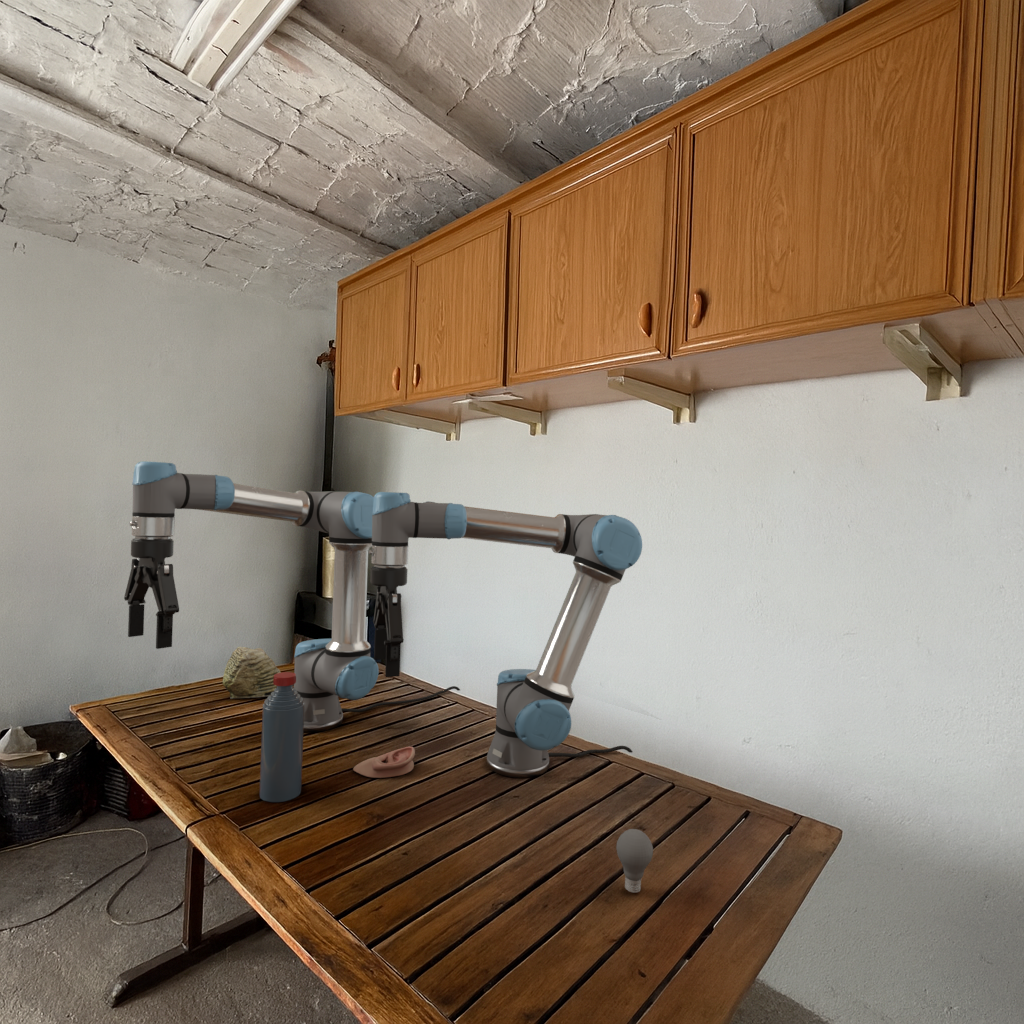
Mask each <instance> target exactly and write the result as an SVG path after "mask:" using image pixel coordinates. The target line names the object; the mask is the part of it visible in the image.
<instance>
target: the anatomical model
mask: <svg viewBox="0 0 1024 1024" xmlns="http://www.w3.org/2000/svg"><path fill="white" fill-rule="evenodd" d="M415 755H416V749H415V747H413V746H406V747H405V746H404V747H401V748H398V749H394V750H391V751H389V752H386V753H383V754H381V755H378V756H375V757H370V758H367V759H364V760H363V761H361V762H359V763H358V764H356V765H355V766H354V767H353V768H352V770H353V771H354V772H356V773H357V774H359V775H361V776H364V777H368V778H371V779H379V778H380V779H382V778H391V777H399V776H403V775H405V774H408V773H410V772H411V771H413V770H414V766H415V763H414V761H413V760H414V758H415Z"/></svg>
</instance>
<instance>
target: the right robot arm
mask: <svg viewBox="0 0 1024 1024" xmlns="http://www.w3.org/2000/svg"><path fill="white" fill-rule="evenodd" d="M410 495H411V494H410V493H408V492H393V491H379V492H378V491H377V492H376V493H375V494H374V496H373V497H374V501H373V513H372V546H371V549H369V550H368V555H371V559H370V563H371V564H372V565H373V566H371V568H370V579H369V580H370V584H371V585H372V586H375V587H376V597H375V604H374V605H375V607H374V614H373V619H372V622H373V625H374V626H373V627H374V644H373V645H374V646H373V654H374V655H373V659H374V660H375V661H378V660H379V661H381V660H385V669H384V670H385V673H384V676H385V678H393V677H400V673H401V672H400V671H401V644H403V643H404V641H405V640H404V632H403V616H402V593H399V592H398V587H403V586H406V585H407V583H408V568H407V567H406V566H407V565H408V564H409V540H410V539H443V540H444V539H447V540H451V539H455V540H456V539H467V540H475V541H485V542H492V543H493V542H494V543H503V544H510V545H519V546H528V547H535V548H545V549H550V550H552V552H553V553H554V554H561V555H567V556H571V557H574V558H573V561H572V564H573V566H574V567H573V568H574V569H575V574H574V576H573V578H572V581H571V583H570V586H569V588H568V590H567V593H566V595H565V599H564V600H563V603H562V605H561V608H560V610H559V612H558V615H557V618H556V620H555V622H554V625H553V628H552V630H551V632H550V635H549V637H548V640H547V642H546V644H545V647H544V649H543V652H542V654H541V657H540V659H539V662H538V665H537V667H536V669H530V668H529V669H528V668H512V669H505V670H502V671H500V672H499V674H498V675H497V676H498V677H497V682H496V686H497V687H496V710H495V711H496V712H495V732H494V735H493V738H492V740H491V743H490V746H489V749H488V751H487V754H486V766H487V767H488V769H490V770H491V771H492V772H494V773H496V774H498V775H500V776H501V775H502V776H505V777H511V778H519V779H520V778H521V779H522V778H532V777H537V776H540V775H542V774H544V773H546V772H548V770H549V768H550V758H580V757H581V758H582V757H584V756H587V755H590V754H609V753H612V752H615V751H619V750H625V751H626V752H628V753H631V754H632V753H634V752H633V750H632V749H631V747H629V746H626V745H618V746H614V747H610V748H605V749H604V748H603V749H588V750H584V751H581V752H576V753H572V752H571V753H569V752H549V750H552V749H554V748H557V747H558V746H560V745H561V744H563V742H564V741H565V740H566V739H567V738H568V736H569V734H570V731H571V729H572V717H571V713H570V709H571V708H572V707H571V706H572V704H573V702H574V699H575V692H574V690H573V687H572V686H573V682H574V680H575V679H576V675H577V673H578V671H579V669H580V665H581V663H582V661H583V658H584V656H585V653H586V650H587V648H588V645H589V643H590V640H591V638H592V636H593V633H594V631H595V628H596V626H597V623H598V620H599V618H600V615H601V613H602V610H603V609H604V605H605V603H606V601H607V599H608V598H607V597H608V595H609V593H610V591H611V588H612V587H613V586H615V585H617V584H619V583H621V582H622V580H623V577H624V574H625V572H626V570H627V569H629V568H631V567H633V566H634V565H635V564H637V562H638V560H639V559H640V557H641V554H642V552H643V551H642V550H643V539H642V534H641V533H640V531H639V528H638V527H637V526H636V525H635V523H633V521H631V520H630V519H627V518H626V517H622V516H619V515H617V514H608V515H607V514H598V513H589V514H565V513H564V514H563V513H558V514H556V515H555V516H554V517H553V516H547V515H538V514H528V513H522V512H513V511H506V510H498V509H488V508H482V507H481V508H480V507H473V506H465V505H463V504H462V503H453V502H435V501H425V502H415V501H411V496H410Z"/></svg>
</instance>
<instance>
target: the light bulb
mask: <svg viewBox="0 0 1024 1024" xmlns="http://www.w3.org/2000/svg"><path fill="white" fill-rule="evenodd" d="M615 849H616V854H617V857H618V859H619V861H620V863H621V865H622V867H623V873H624V874H623V875H624V876H625V878H624V888H625V890H627V891H628V892H630V893H634V894H635V893H639V892H640V891H641V889H642V887H641V886H642V879H643V877H644V875H645V871H646V868H647V867H648V866H649V864H650V863H651V861H652V859H653V855H654V847H653V843H652V841H651V838H649V836H648V835H647V834H646V833H645V832H643V831H642V830H641V829H636V828H629V829H627V830H625V831H623V832H622V833H621V834H620V835H619V837H618V839H617V841H616V847H615Z"/></svg>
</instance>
